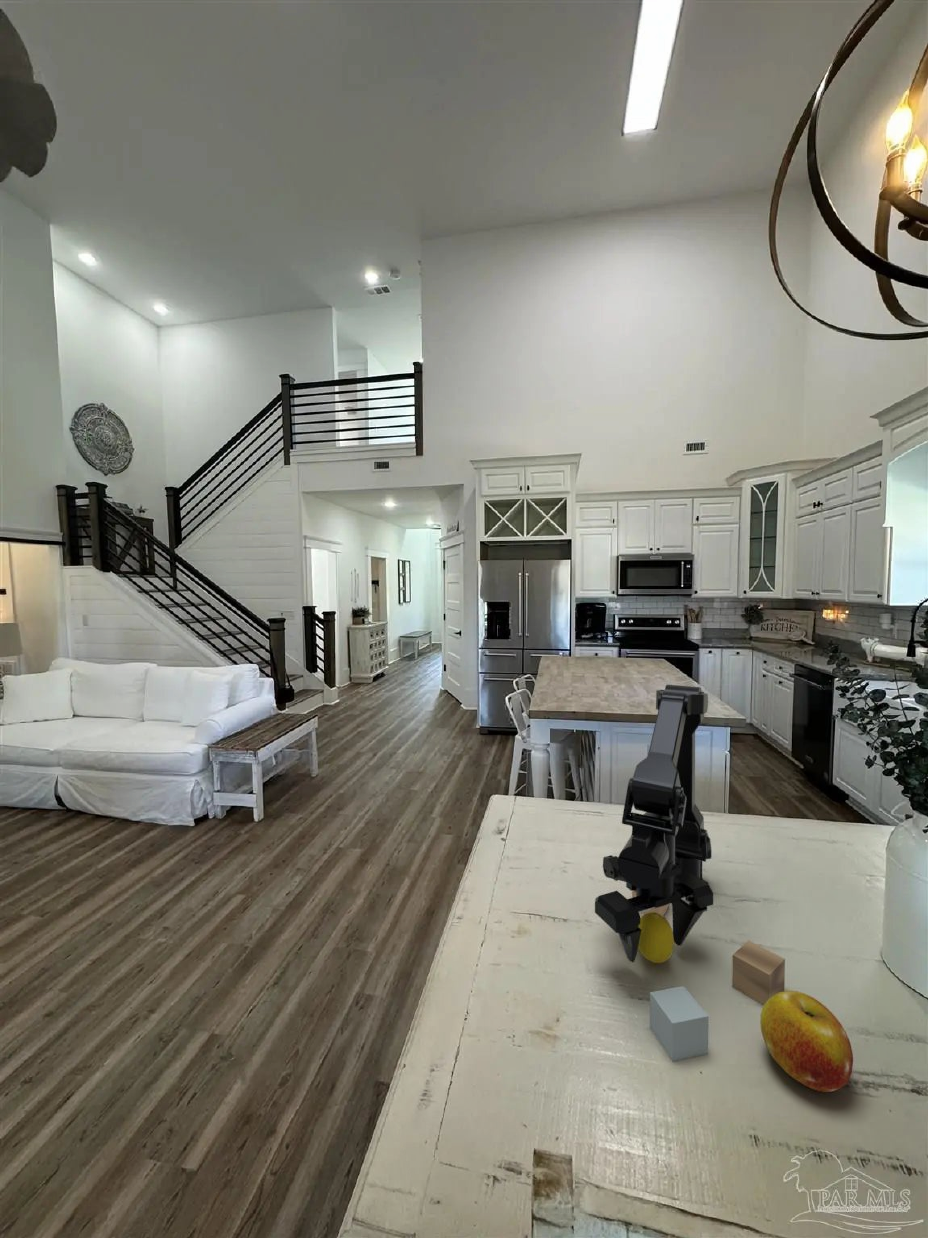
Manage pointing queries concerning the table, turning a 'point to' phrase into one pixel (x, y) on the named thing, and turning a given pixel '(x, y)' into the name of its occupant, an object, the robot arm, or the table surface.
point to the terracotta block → (658, 910)
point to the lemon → (655, 938)
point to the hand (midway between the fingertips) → (654, 952)
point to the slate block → (679, 1023)
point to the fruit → (807, 1040)
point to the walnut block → (758, 972)
